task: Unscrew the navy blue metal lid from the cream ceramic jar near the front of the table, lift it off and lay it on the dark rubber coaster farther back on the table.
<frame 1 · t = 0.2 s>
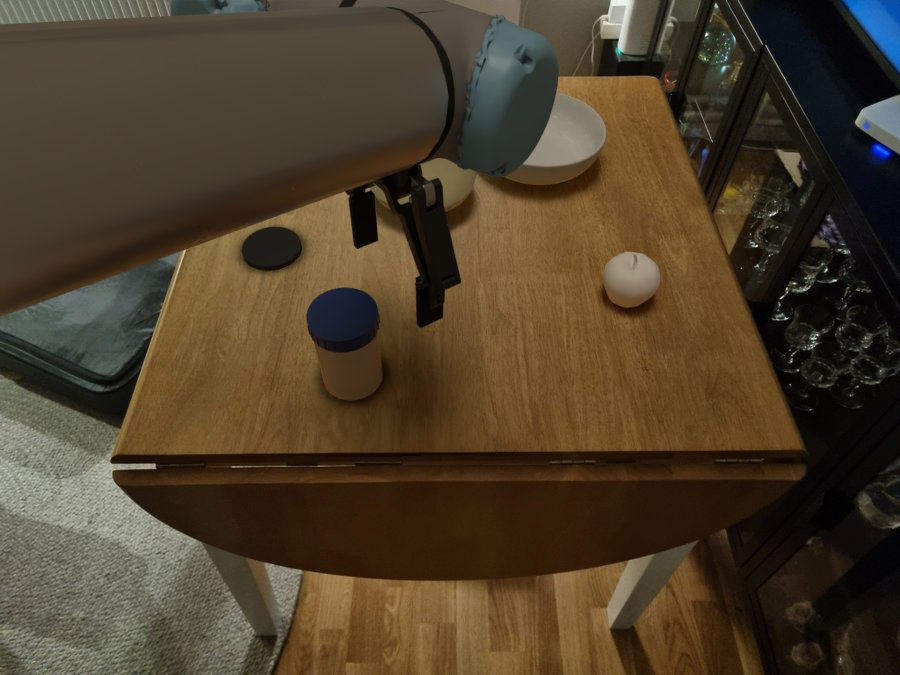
hand: (396, 280, 69), 13 cm above the table, tool pointing down, fingers open, 13 cm apart
jar: (352, 375, 76), on the table
jar lid: (342, 316, 68), point 11 cm above the table, screwed on, not yet turned
serving bowl: (532, 163, 103), on the table
mug: (401, 116, 111), on the table
coaster: (272, 250, 89), on the table
apple: (624, 298, 85), on the table
flask: (421, 211, 96), on the table
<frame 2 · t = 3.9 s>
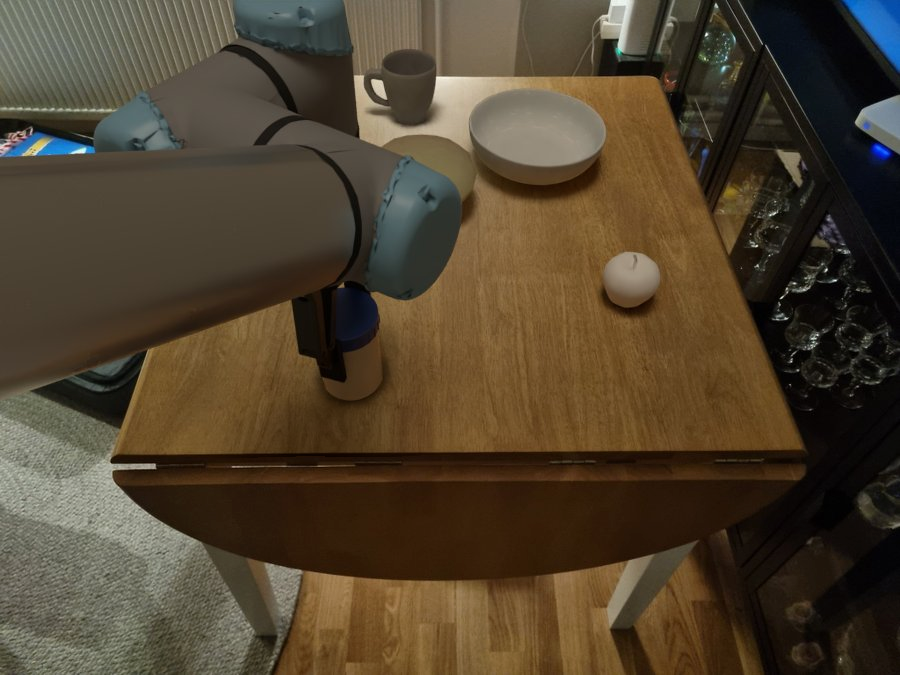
hand: (348, 348, 72), 5 cm above the table, tool pointing down, fingers closed on jar lid, 7 cm apart
jar lid: (342, 316, 68), point 11 cm above the table, screwed on, not yet turned, touching gripper
everything else where it was.
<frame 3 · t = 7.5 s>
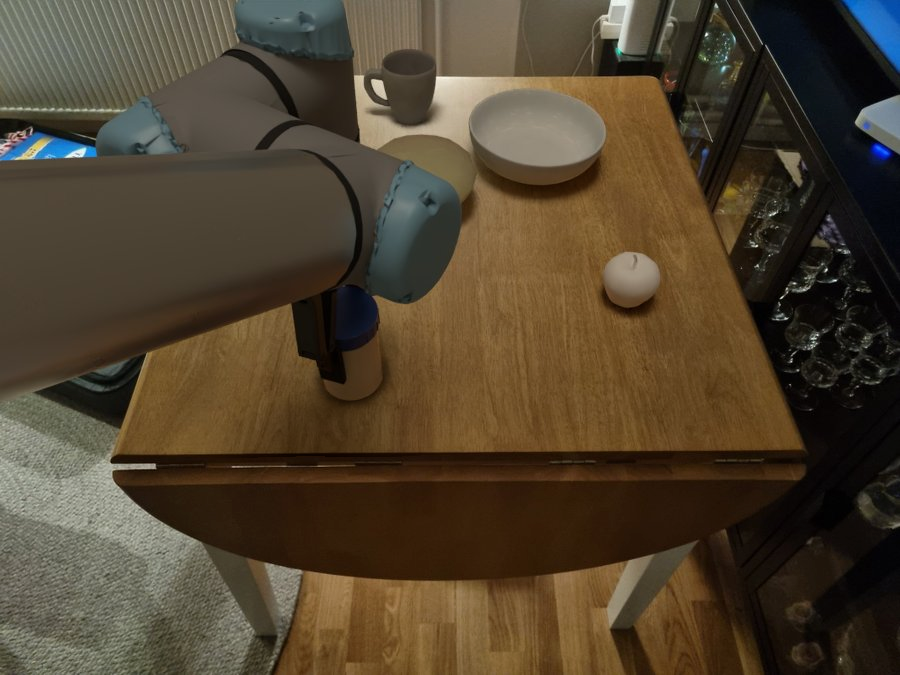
hand: (348, 350, 72), 5 cm above the table, tool pointing down, fingers closed on jar lid, 7 cm apart
jar lid: (342, 315, 68), point 11 cm above the table, turned 131° so far, risen 0.2 cm, still on its thread, touching gripper
everything else where it was.
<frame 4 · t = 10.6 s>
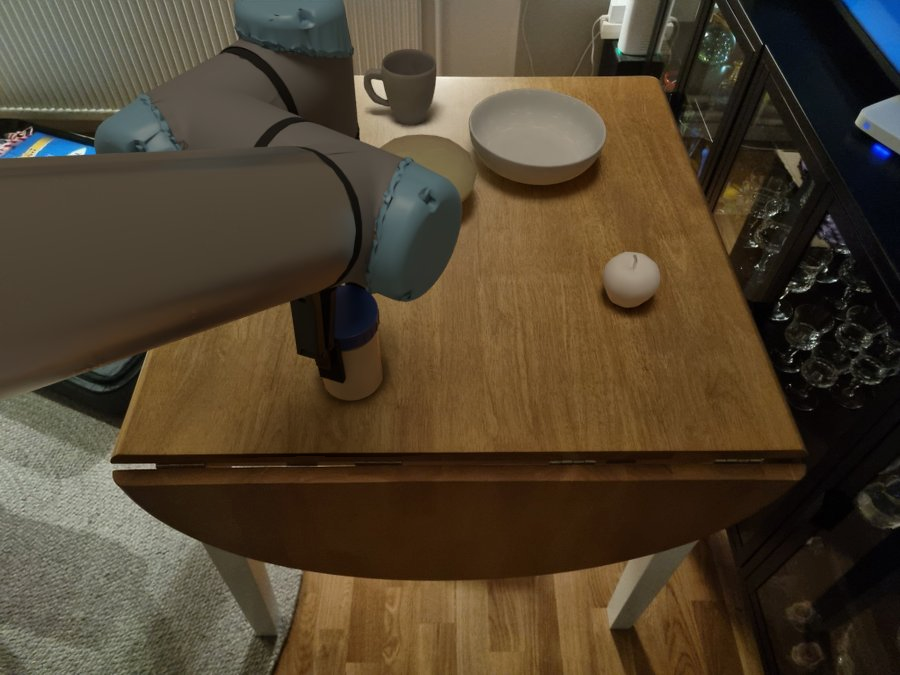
hand: (348, 349, 72), 5 cm above the table, tool pointing down, fingers closed on jar lid, 7 cm apart
jar lid: (342, 313, 68), point 11 cm above the table, turned 262° so far, risen 0.4 cm, still on its thread, touching gripper
everything else where it was.
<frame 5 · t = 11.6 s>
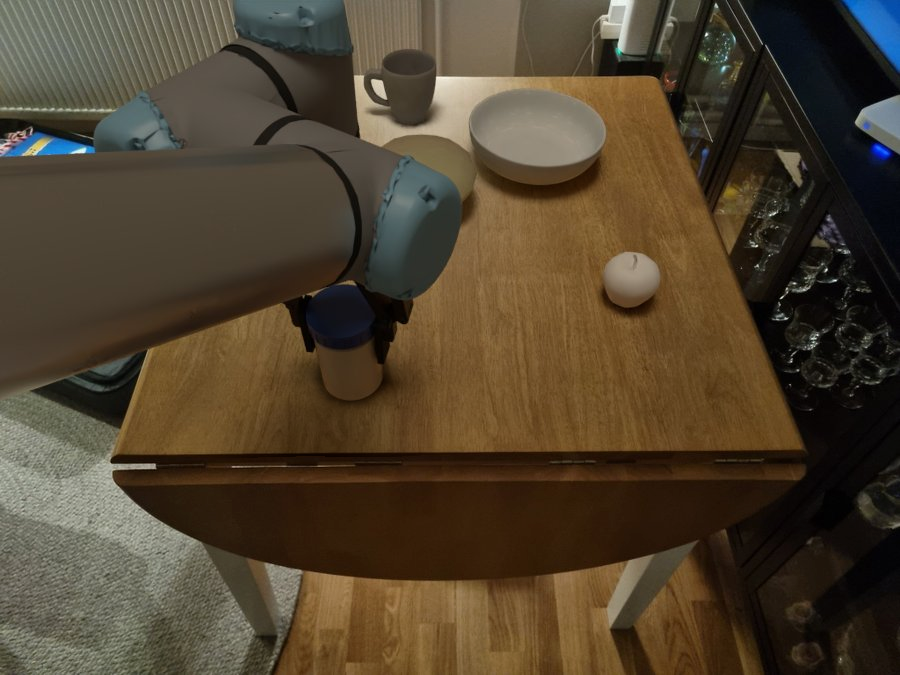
hand: (348, 348, 72), 5 cm above the table, tool pointing down, fingers closed on jar lid, 7 cm apart
jar lid: (342, 313, 68), point 11 cm above the table, turned 360° so far, risen 0.5 cm, still on its thread, touching gripper
everything else where it was.
when the fingers open (1 cm above the table, at t = 19.6 s): jar lid drops 5 cm, resting on coaster.
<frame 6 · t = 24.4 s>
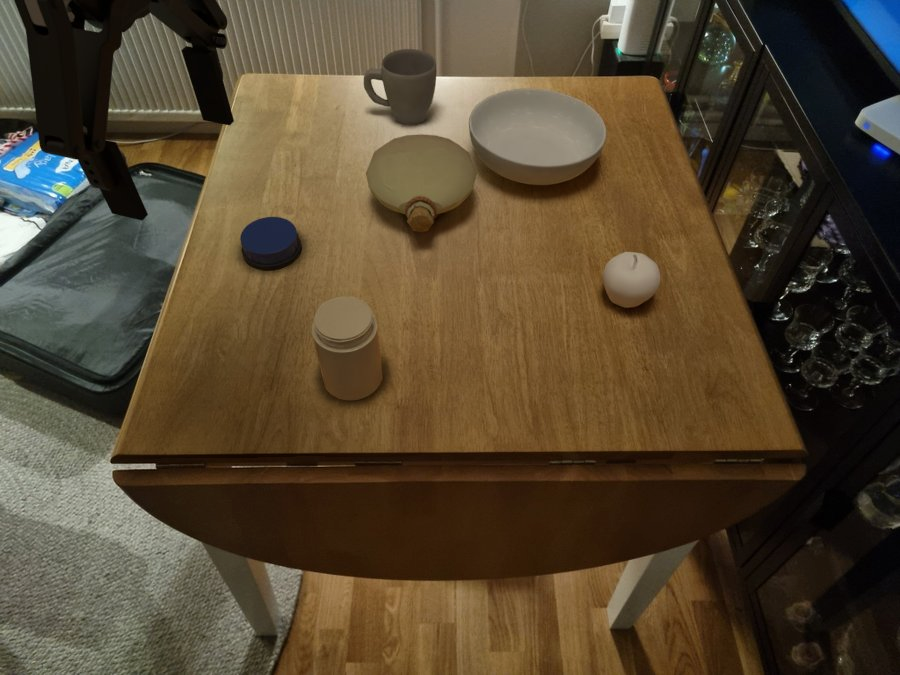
hand: (177, 164, 54), 29 cm above the table, tool pointing down, fingers open, 13 cm apart
jar lid: (269, 237, 88), point 2 cm above the table, off its thread, touching coaster
everything else where it was.
at the end: jar lid came off its thread; jar lid inside the target area on the coaster (0.0 cm from its centre), point 2.3 cm above the coaster's base; the gripper is holding nothing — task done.
